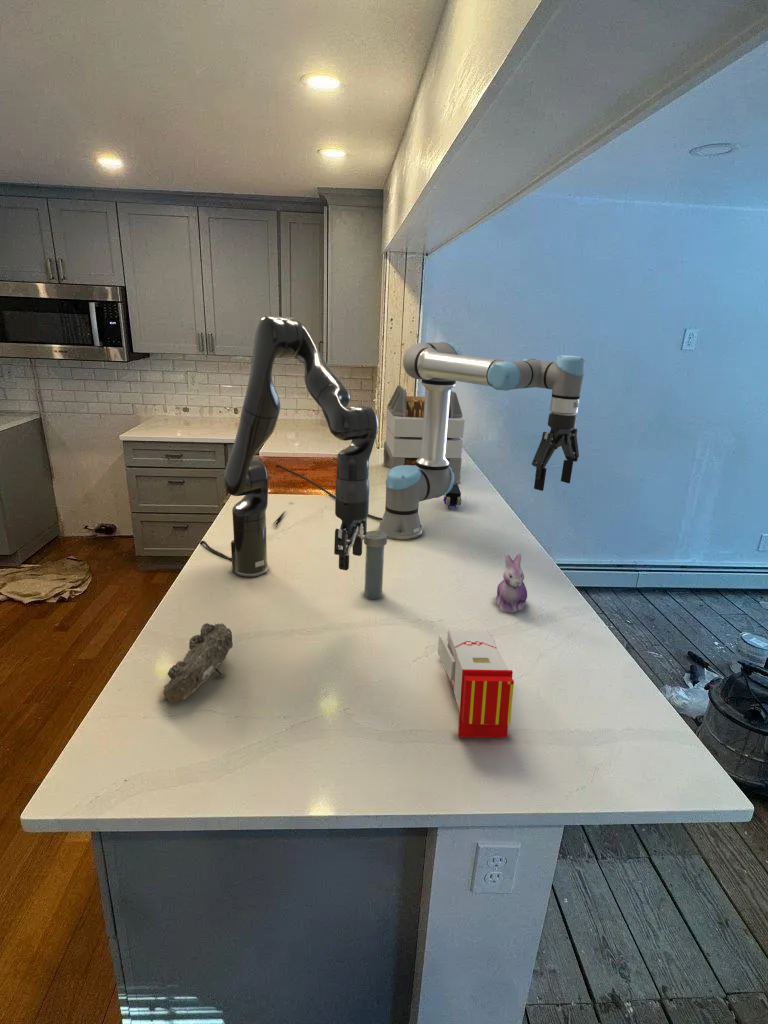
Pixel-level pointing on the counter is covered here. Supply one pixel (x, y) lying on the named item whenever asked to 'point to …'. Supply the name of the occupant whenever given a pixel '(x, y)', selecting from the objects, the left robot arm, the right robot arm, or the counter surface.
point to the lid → (375, 539)
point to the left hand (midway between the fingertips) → (350, 562)
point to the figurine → (512, 586)
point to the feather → (278, 519)
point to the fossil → (199, 661)
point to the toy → (478, 682)
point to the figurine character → (453, 497)
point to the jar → (374, 572)
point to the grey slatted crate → (419, 431)
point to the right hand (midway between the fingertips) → (552, 485)
